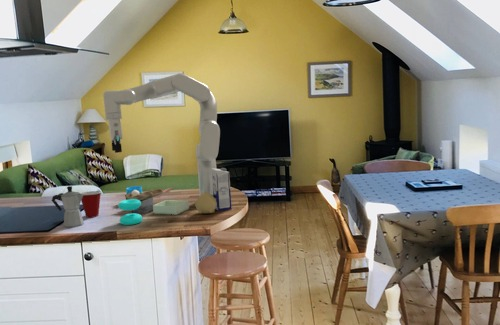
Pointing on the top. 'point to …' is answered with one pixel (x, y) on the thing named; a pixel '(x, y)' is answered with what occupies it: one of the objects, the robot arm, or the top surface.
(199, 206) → the yellow rounded lump
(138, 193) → the ball
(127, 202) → the donuts
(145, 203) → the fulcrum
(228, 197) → the milk carton
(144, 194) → the chute
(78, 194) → the coffee maker
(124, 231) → the top surface
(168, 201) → the tray
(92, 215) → the plastic cup
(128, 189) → the mug
